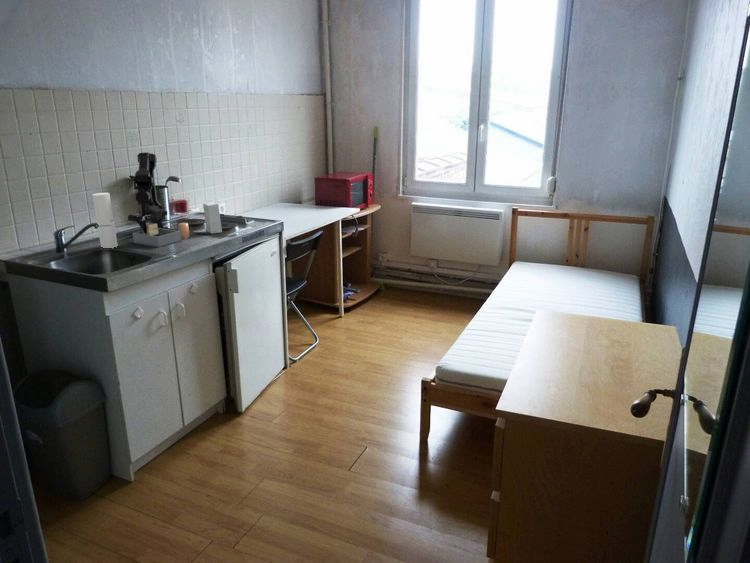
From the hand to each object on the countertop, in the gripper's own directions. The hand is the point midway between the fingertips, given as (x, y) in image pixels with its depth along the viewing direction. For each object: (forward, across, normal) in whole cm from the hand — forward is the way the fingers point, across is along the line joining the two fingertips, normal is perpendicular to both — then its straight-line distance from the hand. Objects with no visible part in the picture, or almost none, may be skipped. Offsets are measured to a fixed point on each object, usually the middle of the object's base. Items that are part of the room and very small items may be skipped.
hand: (150, 232), depth 274 cm
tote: (+4, 0, -4) cm, 6 cm away
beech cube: (+1, 0, 0) cm, 1 cm away
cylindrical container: (+5, -17, +8) cm, 20 cm away
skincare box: (+5, +29, -12) cm, 32 cm away
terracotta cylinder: (+4, +13, -8) cm, 16 cm away
